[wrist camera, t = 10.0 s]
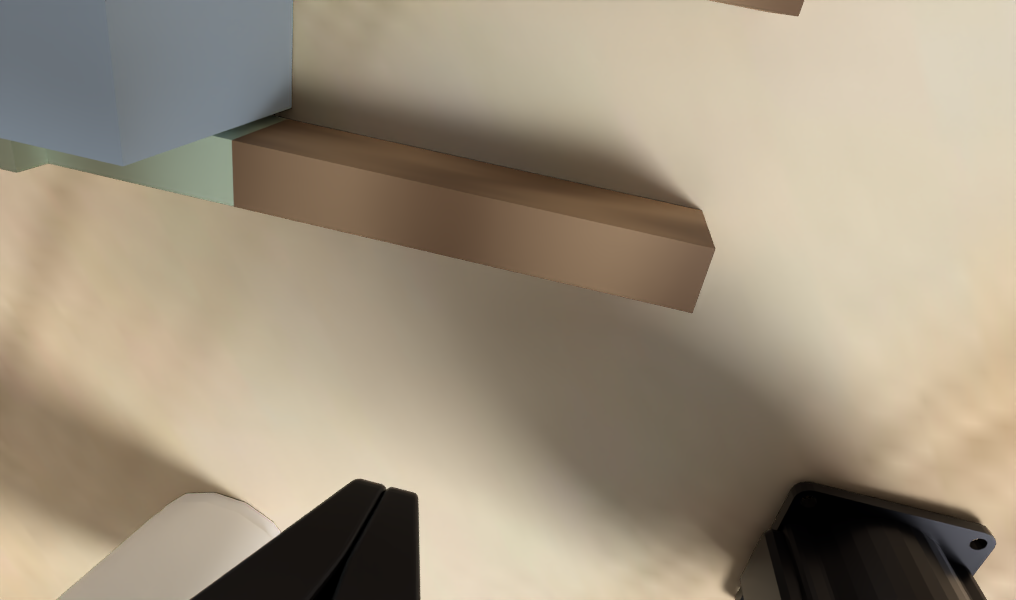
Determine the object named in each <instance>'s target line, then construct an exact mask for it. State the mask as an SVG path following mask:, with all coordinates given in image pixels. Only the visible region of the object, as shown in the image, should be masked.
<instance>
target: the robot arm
mask: <svg viewBox="0 0 1016 600" xmlns="http://www.w3.org/2000/svg"><path fill="white" fill-rule="evenodd" d="M806 496H812V497H811V498H809V499H802V498H803V497H806ZM974 539H977V540H974ZM972 540H973V541H972ZM995 545H996V540H995V538H994V537H993V535H992V534H991V532H990V531H989V530H988V529H987V527H986V526H983V525H981V524H977V523H973V522H969V521H965V520H961V519H957V518H953V517H949V516H945V515H941V514H937V513H933V512H929V511H925V510H921V509H917V508H913V507H909V506H905V505H901V504H897V503H893V502H889V501H885V500H881V499H877V498H873V497H869V496H865V495H860V494H856V493H852V492H848V491H844V490H840V489H836V488H832V487H828V486H824V485H820V484H816V483H812V482H802V483H798V484H796V485H795V486H794V487H793V488H792V489H791V490H790V492H789V494H788V496H787V498H786V500H785V502H784V504H783V506H782V508H781V510H780V512H779V513H778V515H777V517H776V519H775V521H774V523H773V525H772V527H771V529H768V530H767V531H766V532H764V533H763V534H762V536H761V538H760V540H759V542H758V544H757V546H756V548H755V550H754V552H753V554H752V556H751V558H750V560H749V562H748V564H747V566H746V568H745V570H744V571H743V573H742V575H741V578H740V583H741V587H740V589H739V591H738V593H737V594H736V597H735V600H987V599H986V598H985V596H984V594H983V592H982V591H981V589H980V587H979V586H978V584H977V582H976V581H975V579H974V577H973V575H974V574H975V573H976V571H977V570H978V569H979V567H980V566H981V565H982V563H983V562H984V561H985V560H986V558H987V557H988V556H989V554H990V553H991V552H992V550H993V549H994V548H995ZM190 600H420V557H419V508H418V496H417V494H416V493H413V492H410V491H406V490H402V489H398V488H394V487H390V488H388V489H387V490H386V487H385V486H384V485H382V484H379V483H375V482H371V481H367V480H363V479H355V480H353V481H351V482H350V483H349V484H347V485H346V486H344V487H343V488H342V489H340V490H339V491H338V492H336V493H335V494H334V495H332V496H331V497H329V498H328V499H327V500H325V501H324V502H323V503H321V504H320V505H318V506H317V507H316V508H314V509H313V510H312V511H310V512H309V513H308V514H306V515H305V516H303V517H302V518H301V519H299V520H298V521H297V522H295V523H294V524H292V525H291V526H290V527H288V528H287V529H286V530H284V531H283V532H281V533H280V534H279V535H277V536H276V537H275V538H273V539H272V540H271V541H269V542H268V543H266V544H265V545H264V546H262V547H261V548H260V549H258V550H257V551H255V552H254V553H253V554H251V555H250V556H249V557H247V558H246V559H245V560H243V561H242V562H240V563H239V564H238V565H236V566H235V567H234V568H232V569H231V570H229V571H228V572H227V573H225V574H224V575H223V576H221V577H220V578H219V579H217V580H216V581H214V582H213V583H212V584H210V585H209V586H208V587H206V588H205V589H203V590H202V591H201V592H199V593H198V594H197V595H195V596H194V597H192V598H191V599H190Z"/></svg>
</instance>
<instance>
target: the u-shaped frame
mask: <svg viewBox="0 0 1016 600" xmlns="http://www.w3.org/2000/svg"><path fill="white" fill-rule="evenodd" d="M710 1H715V2H720V3H725V4H730V5H735V6H740V7H745V8H750V9H755V10H760V11H765V12H771V13H778V14H785V15H792V16H799V13H800V10H801V8H802V5H803V2H804V0H710ZM48 163H49V164H53V165H58V166H62V167H66V168H70V169H75V170H79V171H83V172H88V173H92V174H96V175H101V176H105V177H109V178H113V179H118V180H122V181H126V182H131V183H135V184H139V185H144V186H148V187H152V188H156V189H161V190H165V191H169V192H174V193H178V194H182V195H187V196H191V197H195V198H199V199H204V200H208V201H212V202H217V203H221V204H225V205H230V206H234V207H238V208H242V209H247V210H251V211H255V212H260V213H264V214H268V215H273V216H277V217H281V218H285V219H290V220H294V221H298V222H303V223H307V224H311V225H316V226H320V227H324V228H328V229H333V230H337V231H341V232H346V233H350V234H354V235H359V236H363V237H367V238H371V239H376V240H380V241H384V242H389V243H393V244H397V245H402V246H406V247H410V248H414V249H419V250H423V251H427V252H432V253H436V254H440V255H445V256H449V257H453V258H457V259H462V260H466V261H470V262H475V263H479V264H483V265H488V266H492V267H496V268H500V269H505V270H509V271H513V272H518V273H522V274H526V275H531V276H535V277H539V278H543V279H548V280H552V281H556V282H561V283H565V284H569V285H574V286H578V287H582V288H586V289H591V290H595V291H599V292H604V293H608V294H612V295H617V296H621V297H625V298H629V299H634V300H638V301H642V302H647V303H651V304H655V305H660V306H664V307H668V308H672V309H677V310H681V311H685V312H690V313H693V310H694V307H695V304H696V302H697V299H698V296H699V293H700V290H701V288H702V285H703V282H704V279H705V276H706V274H707V271H708V268H709V265H710V262H711V260H712V257H713V254H714V251H715V247H714V244H713V241H712V238H711V235H710V232H709V229H708V227H707V224H706V221H705V218H704V215H703V212H702V210H697V209H693V208H688V207H684V206H679V205H675V204H670V203H666V202H661V201H657V200H652V199H648V198H643V197H639V196H634V195H629V194H625V193H620V192H616V191H611V190H607V189H602V188H598V187H593V186H589V185H584V184H580V183H575V182H571V181H566V180H562V179H557V178H553V177H548V176H543V175H539V174H534V173H530V172H525V171H521V170H516V169H512V168H507V167H503V166H498V165H494V164H489V163H485V162H480V161H476V160H471V159H467V158H462V157H458V156H453V155H448V154H444V153H439V152H435V151H430V150H426V149H421V148H417V147H412V146H408V145H403V144H399V143H394V142H390V141H385V140H381V139H376V138H372V137H367V136H363V135H358V134H353V133H349V132H344V131H340V130H335V129H331V128H326V127H322V126H317V125H313V124H308V123H304V122H299V121H295V120H290V119H286V118H281V117H277V116H272V115H269V116H267V117H264V118H261V119H258V120H255V121H252V122H249V123H247V124H244V125H241V126H238V127H235V128H232V129H229V130H226V131H224V132H221V133H218V134H215V135H212V136H209V137H206V138H203V139H201V140H198V141H195V142H192V143H189V144H186V145H183V146H181V147H178V148H175V149H172V150H169V151H166V152H163V153H160V154H158V155H155V156H152V157H149V158H146V159H143V160H140V161H137V162H135V163H132V164H129V165H126V166H119V165H115V164H111V163H106V162H102V161H98V160H93V159H89V158H85V157H80V156H76V155H72V154H68V153H63V152H59V151H55V150H50V149H46V148H42V147H37V146H33V145H29V144H24V143H20V142H16V141H11V140H7V139H3V138H0V169H3V170H8V171H12V172H16V173H17V172H21V171H24V170H27V169H31V168H34V167H37V166H41V165H44V164H48Z"/></svg>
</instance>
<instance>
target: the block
mask: <svg viewBox="0 0 1016 600" xmlns="http://www.w3.org/2000/svg"><path fill="white" fill-rule="evenodd" d="M292 37H293V0H0V138H3V139H7V140H11V141H16V142H20V143H24V144H29V145H33V146H37V147H42V148H46V149H50V150H55V151H59V152H63V153H68V154H72V155H76V156H80V157H85V158H89V159H93V160H98V161H102V162H106V163H111V164H115V165H119V166H126V165H129V164H132V163H135V162H137V161H140V160H143V159H146V158H149V157H152V156H155V155H158V154H160V153H163V152H166V151H169V150H172V149H175V148H178V147H181V146H183V145H186V144H189V143H192V142H195V141H198V140H201V139H203V138H206V137H209V136H212V135H215V134H218V133H221V132H224V131H226V130H229V129H232V128H235V127H238V126H241V125H244V124H247V123H249V122H252V121H255V120H258V119H261V118H264V117H267V116H269V115H272V114H275V113H278V112H281V111H284V110H287V109H290V108H291V106H292Z"/></svg>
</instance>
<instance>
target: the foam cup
mask: <svg viewBox="0 0 1016 600" xmlns="http://www.w3.org/2000/svg"><path fill="white" fill-rule="evenodd" d="M280 533H281V532H280V531H279V529H278V528H277V526H276V525H275V524H274V522H272V521H271V520H270V519H268V518H267V517H265V516H264V515H262V514H261V513H260V512H258V511H257V510H255V509H254V508H253V507H251V506H250V505H248V504H247V503H245V502H242V501H239V500H236V499H233V498H230V497H227V496H224V495H221V494H218V493H186V494H184V495H183V496H181V497H179V498H178V499H176V500H174V501H173V502H171V503H169V504H168V505H166V506H165V507H164V508H163V510H162V511H160V512H159V513H157V514H155V515H154V516H153V517H152V518H150V519H149V520H148V521H147V522H146V523H145V524H143V525H142V526H141V527H140V528H139V529H138V530H136V531H135V532H134V533H133V534H132V535H131V536H129V537H128V538H127V539H126V540H125V541H124V542H122V543H121V544H120V545H119V546H118V547H117V548H116V549H114V550H113V551H112V552H111V553H110V554H109V555H107V556H106V557H105V558H104V559H103V560H102V561H100V562H99V563H98V564H97V565H96V566H95V567H93V568H92V569H91V570H90V571H89V572H88V573H86V574H85V575H84V576H83V577H82V578H81V579H79V580H78V581H77V582H76V583H75V584H74V585H72V586H71V587H70V588H69V589H68V590H67V591H66V592H64V593H63V594H62V595H61V596H60V597H59V598H57V599H56V600H190V599H191V598H192V597H194V596H195V595H197V594H198V593H199V592H201V591H202V590H203V589H205V588H206V587H208V586H209V585H210V584H212V583H213V582H214V581H216V580H217V579H219V578H220V577H221V576H223V575H224V574H225V573H227V572H228V571H229V570H231V569H232V568H234V567H235V566H236V565H238V564H239V563H240V562H242V561H243V560H245V559H246V558H247V557H249V556H250V555H251V554H253V553H254V552H255V551H257V550H258V549H260V548H261V547H262V546H264V545H265V544H266V543H268V542H269V541H271V540H272V539H273V538H275V537H276V536H277V535H279V534H280Z"/></svg>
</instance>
